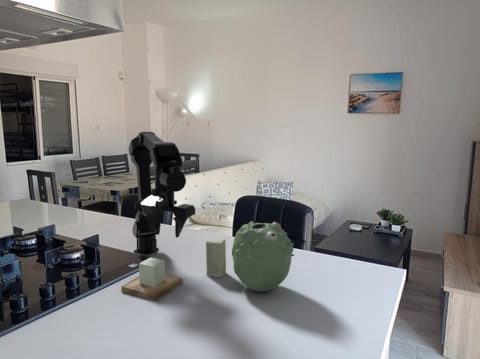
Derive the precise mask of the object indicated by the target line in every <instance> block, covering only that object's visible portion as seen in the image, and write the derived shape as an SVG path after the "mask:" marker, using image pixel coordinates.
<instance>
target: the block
mask: <svg viewBox="0 0 480 359" xmlns="http://www.w3.org/2000/svg"><path fill="white" fill-rule="evenodd" d="M165 263H166V262H165V260H164V259H161V258H160V259H159V258H154V257H149V258H147V259H145V260H143V261H141V262H140V263H139V262H138V268H139V269H138V270H139V271H138V274H139V275H138V276H139V277H140V284H143V285H147V286H151V287H155V286H157V285H158V284H160V283H161V282H163V281H164V280H165V273H166V272H165V271H166V270H165V269H166V267H165V266H166V264H165Z"/></svg>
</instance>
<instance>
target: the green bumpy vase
mask: <svg viewBox="0 0 480 359" xmlns="http://www.w3.org/2000/svg"><path fill="white" fill-rule="evenodd" d="M287 234H288V232H286V231H285V230H284V229H282V226H281V224H280V223H279V222H276V221H273V222H272V223H267V222H264V223H261V222H256V223H255V222H254V221H253V220H251V221H249V222H248V223H246V224H243V225H242V226H241V227H239V230H237V231H236V233H235V235H234V238H233V243H232V249H231V256H232V260H233V261H232V262H233V270H234V274H235V275H236V276H237V277H238V278H239V281H240V282H241V284H243V285H244V286H246V287H248V289H249V290H252V291H255V292H261V293H262V292H263V293H264V292H269V291H272V290H274V289H275V288H277V287H278V286H279V285H281V284H282V283H283V282H284V281H285V279H286V278H287V277H288V275H289V273H290V268H291V265H292V257H295V256H296V255H295V254H293V252H294V243H293V242H291V241H292V240H291V238H289V237H288V235H287Z"/></svg>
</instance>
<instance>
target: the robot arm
mask: <svg viewBox="0 0 480 359" xmlns="http://www.w3.org/2000/svg"><path fill="white" fill-rule="evenodd" d="M128 154H129V156H130V159H131V162H132V163H133V165H134V166H135V168H136V178H137V191H138V192H137V193H138V194H137V196H138V200H136V202H135V203H134V209H135V211H137V212H136V214H135V221H134V223H133V226H132V228H131V229H132V235H133V236H134V238H136V249H134V250H133V253H137V254H141V255H147V256H148V255H150V254H151V255H152V254H153V253H155V252H156V251H158V250H159V249H160V247H158V244H157V241H158V240H157V236H159V235H160V232H161V224H162V222H161V220H160V218H159V212H163V211H166V212H171V213H173V216H174V217H172V219H173V221H174V226H175V227H174V229H175V230H174V233H175V234H174V235H175V238H179V237H180V235H181V233H182V230H183V228H184V226H185V224H186V223H187V221H188V220H189V218H191V217H192V216H195V215H196V207H195V206H194V204H187V203H183V204H179V205H177V204H178V201H177V200H175V193H176V192H180V191H182V190H183V189H184V188H185V187H186V184H187V178H186V176H185V174H184V173H183V172H181V171H180V168H183V164H182V163H183V159H182V158H183V157H182V155H181V153H180V150H179V148H178V146H177V145H176V144H175V143H174V142H171V141H164V140H162V139H161V138H160V137H159V136H157V135H156V133H155V132H153V131H141V132H138V134H137V136H136V137H134V138H133V139H131V140H130V142H129V145H128ZM151 165H153V167H154V188H152V181H151V180H152V179H151V167H150V166H151Z"/></svg>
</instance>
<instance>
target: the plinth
mask: <svg viewBox="0 0 480 359" xmlns="http://www.w3.org/2000/svg"><path fill="white" fill-rule="evenodd" d="M182 283H183V278H182V277H180V276H179V277H178V276H175V275H169V274H167V273H166V274H165V280H164V281H163V282H161V283H160V284H158V285H157V286H155V287H151V286H147V285H143V284H140V277H139V275H138V276H136V277H135V278H133V279H132V280H129V281H127V282H126V283H124V284H123V285H122V286H121V287H120V288H121V290H120V291H121V292H122V293H126V294H130V295H133V296H138V297H140V298H145V299H149V300H151V301H155V302H157V301H159V300H160V299H161V298H163V297H164V296H166V295H167V294H168V293H170V292H171V291H173V290H174V289H176V287H178V286H180V285H181V284H182Z"/></svg>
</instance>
